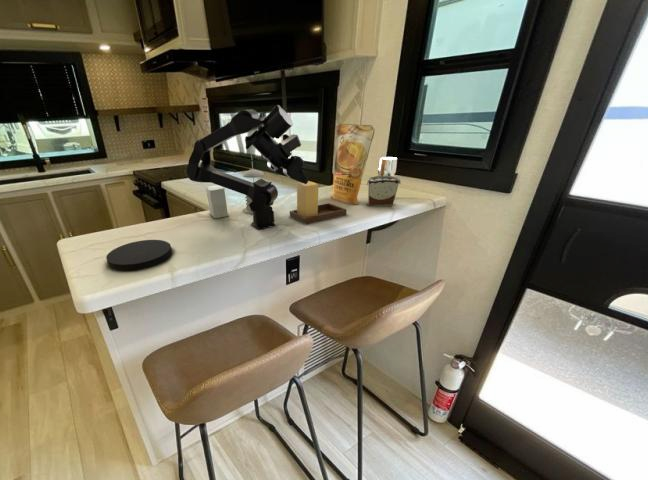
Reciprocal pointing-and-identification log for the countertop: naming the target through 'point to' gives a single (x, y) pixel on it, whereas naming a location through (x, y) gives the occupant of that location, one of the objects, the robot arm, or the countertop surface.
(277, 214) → the countertop surface
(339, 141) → the pancake mix bag
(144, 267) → the wireless charger
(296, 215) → the tray
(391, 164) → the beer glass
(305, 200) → the box
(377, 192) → the food container
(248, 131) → the robot arm
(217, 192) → the small box
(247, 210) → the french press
